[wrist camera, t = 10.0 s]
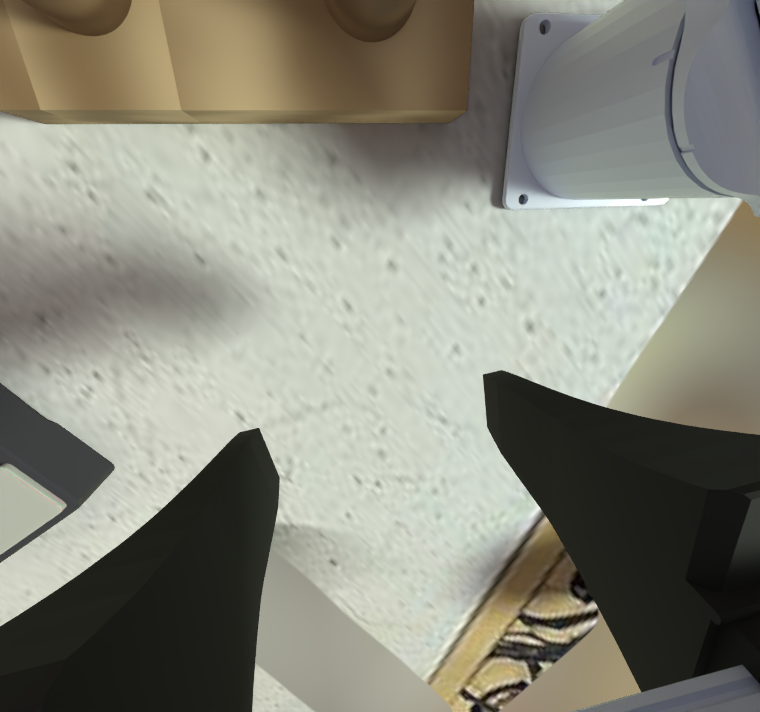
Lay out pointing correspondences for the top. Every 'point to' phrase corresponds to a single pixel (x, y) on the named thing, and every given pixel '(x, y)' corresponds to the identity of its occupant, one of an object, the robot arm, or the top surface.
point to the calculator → (40, 473)
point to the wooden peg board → (235, 61)
